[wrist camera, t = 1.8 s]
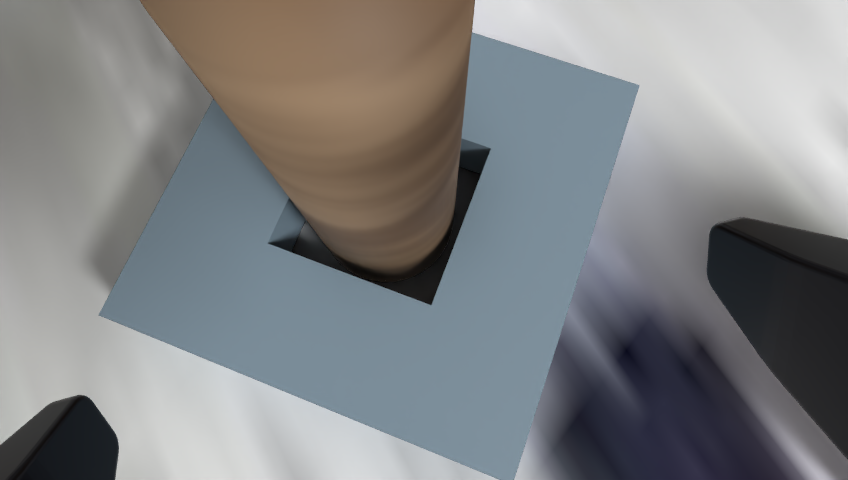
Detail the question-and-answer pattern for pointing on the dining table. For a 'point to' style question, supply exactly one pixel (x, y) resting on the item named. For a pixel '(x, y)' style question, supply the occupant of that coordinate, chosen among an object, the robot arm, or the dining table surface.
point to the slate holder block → (380, 307)
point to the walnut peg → (343, 112)
